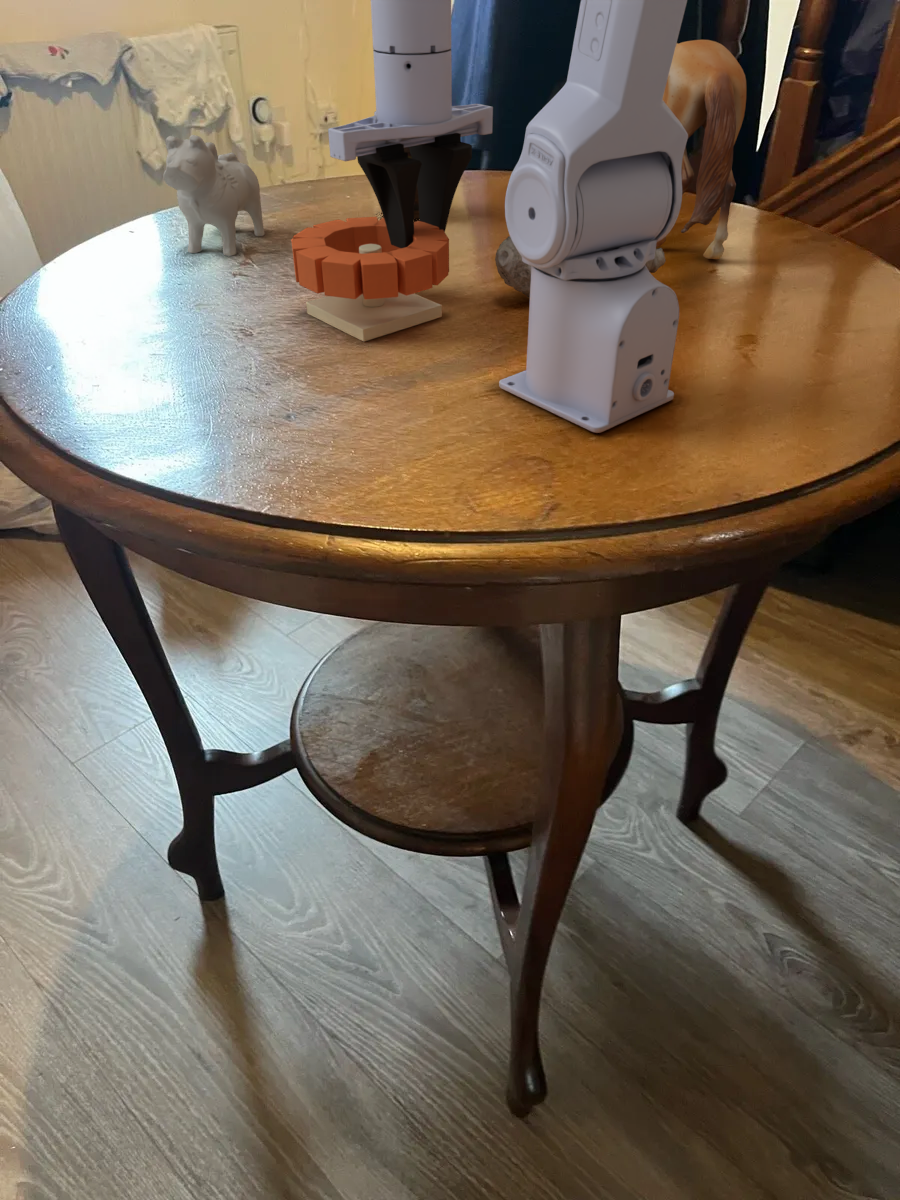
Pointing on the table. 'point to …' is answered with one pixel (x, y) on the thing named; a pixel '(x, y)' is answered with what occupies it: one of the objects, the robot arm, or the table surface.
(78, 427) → the table surface
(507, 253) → the seashell
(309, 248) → the ring
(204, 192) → the dog figurine
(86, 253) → the table surface
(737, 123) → the horse figurine
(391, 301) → the stand
